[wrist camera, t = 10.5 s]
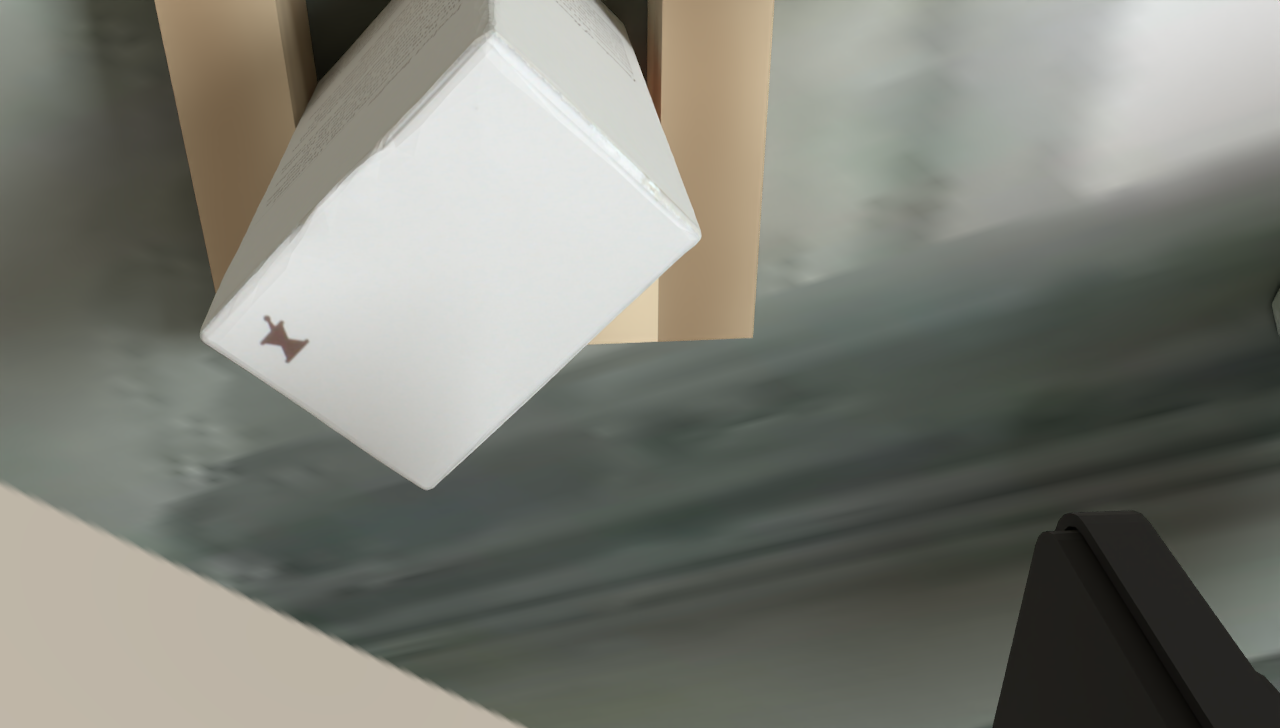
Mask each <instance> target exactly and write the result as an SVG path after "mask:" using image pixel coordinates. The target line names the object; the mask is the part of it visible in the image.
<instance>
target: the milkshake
mask: <svg viewBox="0 0 1280 728" xmlns="http://www.w3.org/2000/svg"><path fill="white" fill-rule="evenodd" d="M1272 309H1273V313H1274V318H1275V322H1276V327H1277V332H1278V334H1279V335H1280V289H1279V291H1278V293H1277V295H1276V297H1275V298H1274V300H1273V302H1272Z"/></svg>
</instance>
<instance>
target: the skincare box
mask: <svg viewBox="0 0 1280 728" xmlns="http://www.w3.org/2000/svg"><path fill="white" fill-rule="evenodd" d="M701 236H702V235H701V230H700V227H699V224H698V222H697V219H696V216H695V213H694V210H693V207H692V205H691V202H690V200H689V197H688V195H687V192H686V189H685V187H684V184H683V181H682V179H681V176H680V173H679V171H678V168H677V165H676V163H675V159H674V156H673V154H672V152H671V149H670V146H669V143H668V141H667V139H666V136H665V133H664V131H663V129H662V126H661V123H660V121H659V118H658V115H657V112H656V110H655V107H654V104H653V101H652V98H651V96H650V93H649V91H648V88H647V85H646V82H645V80H644V77H643V74H642V72H641V69H640V66H639V63H638V61H637V58H636V55H635V53H634V50H633V48H632V45H631V42H630V40H629V37H628V34H627V31H626V28H625V26H624V24H623V23H622V22H621V21H620V20H619V19H618V18H617V16H616V15H615V14H614V13H613V12H611V11H610V10H609V9H608V8H607V6H606V5H605V4H604V3H603V2H602V1H601V0H391V2H390V3H389V4H388V5H387V6H386V7H385V8H384V9H383V11H382V12H381V13H380V14H379V15H378V16H377V17H376V18H375V20H374V21H373V22H372V23H371V24H370V25H369V26H368V28H367V29H366V30H365V31H364V32H363V33H362V34H361V35H360V37H359V38H358V39H357V40H356V41H355V42H354V43H353V44H352V46H351V47H350V48H349V49H348V50H347V51H346V52H345V53H344V54H343V56H342V57H341V58H340V59H339V60H338V61H337V62H336V63H335V65H334V66H333V67H332V68H331V69H330V70H329V71H328V72H327V73H326V75H325V76H324V77H323V78H322V79H321V80H320V81H319V82H318V84H317V86H316V88H315V90H314V93H313V95H312V97H311V99H310V101H309V103H308V104H307V107H306V109H305V111H304V113H303V115H302V117H301V119H300V121H299V123H298V125H297V128H296V130H295V132H294V134H293V135H292V138H291V140H290V142H289V144H288V147H287V149H286V151H285V153H284V155H283V157H282V159H281V161H280V164H279V166H278V168H277V170H276V172H275V174H274V176H273V178H272V180H271V182H270V184H269V186H268V188H267V191H266V193H265V195H264V197H263V199H262V200H261V202H260V204H259V206H258V208H257V211H256V213H255V215H254V217H253V219H252V221H251V223H250V225H249V228H248V230H247V232H246V234H245V236H244V238H243V240H242V242H241V244H240V247H239V249H238V251H237V253H236V254H235V256H234V258H233V260H232V262H231V264H230V265H229V267H228V269H227V271H226V273H225V275H224V277H223V279H222V282H221V284H220V286H219V289H218V290H217V292H216V294H215V297H214V299H213V301H212V304H211V306H210V309H209V311H208V313H207V316H206V318H205V320H204V322H203V325H202V327H201V331H200V339H201V341H202V342H203V343H205V344H206V345H208V346H209V347H211V348H213V349H214V350H216V351H217V352H219V353H220V354H222V355H223V356H225V357H227V358H228V359H230V360H231V361H233V362H234V363H236V364H237V365H239V366H240V367H242V368H243V369H245V370H247V371H248V372H250V373H251V374H253V375H254V376H256V377H257V378H259V379H260V380H262V381H263V382H265V383H266V384H268V385H269V386H271V387H272V388H274V389H275V390H277V391H278V392H280V393H281V394H283V395H284V396H286V397H287V398H289V399H290V400H292V401H293V402H294V403H296V404H297V405H299V406H300V407H302V408H303V409H305V410H306V411H308V412H309V413H311V414H312V415H313V416H315V417H316V418H318V419H319V420H321V421H322V422H323V423H325V424H326V425H328V426H329V427H330V428H332V429H333V430H335V431H336V432H338V433H339V434H341V435H342V436H344V437H345V438H347V439H348V440H350V441H351V442H352V443H354V444H355V445H357V446H358V447H360V448H361V449H362V450H364V451H365V452H367V453H368V454H370V455H371V456H373V457H374V458H375V459H377V460H378V461H380V462H382V463H383V464H385V465H386V466H388V467H389V468H391V469H392V470H394V471H395V472H397V473H398V474H400V475H401V476H403V477H405V478H406V479H408V480H409V481H411V482H412V483H414V484H416V485H417V486H419V487H420V488H422V489H424V490H429V489H432V488H434V487H435V486H436V485H437V484H438V483H439V482H440V481H441V480H442V479H443V478H444V477H445V476H447V475H448V474H449V473H450V472H451V471H452V470H453V469H454V468H455V467H456V466H458V465H459V464H460V463H461V462H462V461H463V460H464V459H465V458H466V457H467V456H469V455H470V454H471V453H472V452H473V451H474V450H475V449H476V448H477V447H478V446H479V445H481V444H482V443H483V442H484V441H485V440H486V439H487V438H488V437H489V436H490V435H491V434H492V433H493V432H495V431H496V430H497V429H498V428H499V427H500V426H501V425H502V424H503V423H504V422H505V421H506V420H508V419H509V418H510V417H511V416H512V415H513V414H514V413H515V412H516V411H517V410H518V409H519V408H520V407H522V406H523V405H524V404H525V403H526V402H527V401H528V400H529V399H530V398H531V397H532V396H533V395H534V394H535V393H537V392H538V391H539V390H540V389H541V388H542V387H543V386H544V385H545V384H546V383H547V382H548V381H549V380H550V379H551V378H553V377H554V376H555V375H556V374H557V373H558V372H559V371H560V370H561V369H562V368H563V367H564V366H565V365H566V364H567V363H568V362H569V361H570V360H571V359H572V358H573V357H575V356H576V355H577V354H578V353H579V352H580V351H581V350H582V349H583V348H584V347H585V346H586V345H587V344H588V343H589V342H590V341H591V340H592V339H593V338H594V337H596V336H597V335H598V334H599V333H600V332H601V331H602V330H603V329H604V328H605V327H606V326H607V325H608V324H609V323H610V322H611V321H613V320H614V319H615V318H616V317H617V316H618V315H619V314H620V313H621V312H622V311H623V310H624V309H625V308H626V307H628V306H629V305H630V304H631V303H632V302H633V301H634V300H635V299H636V298H637V297H639V296H640V295H641V294H642V293H643V292H644V291H645V290H646V289H647V288H648V287H649V286H650V285H651V284H652V283H654V282H655V281H656V280H657V279H658V278H659V277H660V276H661V275H662V274H663V273H664V272H665V271H666V270H668V269H669V268H670V267H671V266H672V265H673V264H674V263H675V262H676V261H677V260H678V259H679V258H681V257H682V256H683V255H684V254H685V253H686V252H687V251H689V250H690V249H691V248H693V247H694V246H695V245H696V244H697V243H698V242H699V241H700V239H701Z"/></svg>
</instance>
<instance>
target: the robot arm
mask: <svg viewBox="0 0 1280 728" xmlns="http://www.w3.org/2000/svg"><path fill="white" fill-rule="evenodd" d="M992 728H1280V693H1279V692H1278V691H1277V689H1276V688H1275V687H1274V686H1273V685H1272V684H1271V683H1270V682H1269V681H1268V680H1267V679H1266V677H1265V676H1263V675H1261V674H1260V673H1258V672H1256V671H1255V670H1254V668H1253V667H1252V666H1251V664H1250V663H1249V661H1248V660H1247V658H1246V657H1245V656H1244V654H1243V653H1242V651H1241V650H1240V649H1239V647H1238V646H1237V644H1236V643H1235V642H1234V640H1233V639H1232V637H1231V636H1230V635H1229V633H1228V632H1227V630H1226V629H1225V628H1224V626H1223V625H1222V623H1221V622H1220V621H1219V619H1218V618H1217V616H1216V615H1215V614H1214V612H1213V611H1212V609H1211V608H1210V607H1209V605H1208V604H1207V602H1206V601H1205V600H1204V598H1203V597H1202V595H1201V594H1200V593H1199V591H1198V590H1197V588H1196V587H1195V586H1194V584H1193V583H1192V581H1191V580H1190V579H1189V577H1188V576H1187V574H1186V573H1185V572H1184V570H1183V569H1182V567H1181V566H1180V564H1179V563H1178V562H1177V560H1176V559H1175V557H1174V556H1173V555H1172V553H1171V552H1170V550H1169V549H1168V548H1167V546H1166V545H1165V543H1164V542H1163V541H1162V539H1161V538H1160V536H1159V535H1158V534H1157V532H1156V531H1155V529H1154V528H1153V527H1152V525H1151V524H1150V522H1149V521H1148V520H1147V519H1146V518H1145V517H1144V516H1143V515H1142V514H1141V513H1138V512H1136V511H1133V510H1132V511H1105V512H1077V513H1068V514H1065V515H1063V517H1062V518H1061V519H1060V520H1059V522H1058V524H1057V527H1056V530H1055V531H1046V532H1042V533H1041V535H1040V536H1039V537H1038V540H1037V542H1036V545H1035V550H1034V554H1033V558H1032V562H1031V566H1030V571H1029V575H1028V579H1027V583H1026V588H1025V592H1024V596H1023V600H1022V605H1021V609H1020V613H1019V617H1018V622H1017V626H1016V630H1015V634H1014V638H1013V643H1012V647H1011V651H1010V655H1009V660H1008V664H1007V668H1006V672H1005V677H1004V681H1003V685H1002V689H1001V694H1000V698H999V702H998V706H997V710H996V715H995V719H994V723H993V727H992Z"/></svg>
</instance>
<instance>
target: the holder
mask: <svg viewBox="0 0 1280 728" xmlns="http://www.w3.org/2000/svg"><path fill="white" fill-rule="evenodd" d="M154 1H155V6H156V11H157V16H158V20H159V25H160V30H161V35H162V39H163V44H164V49H165V54H166V58H167V63H168V68H169V73H170V78H171V82H172V87H173V92H174V97H175V101H176V106H177V111H178V116H179V121H180V125H181V130H182V135H183V140H184V144H185V149H186V154H187V159H188V163H189V168H190V173H191V178H192V183H193V187H194V192H195V197H196V202H197V206H198V211H199V216H200V221H201V226H202V230H203V235H204V240H205V245H206V249H207V254H208V259H209V264H210V268H211V273H212V278H213V283H214V288H215V292H217V290H218V289H219V286H220V284H221V282H222V279H223V277H224V275H225V273H226V271H227V269H228V267H229V265H230V264H231V262H232V260H233V258H234V256H235V254H236V253H237V251H238V249H239V247H240V244H241V242H242V240H243V238H244V236H245V234H246V232H247V230H248V228H249V225H250V223H251V221H252V219H253V217H254V215H255V213H256V211H257V208H258V206H259V204H260V202H261V200H262V199H263V197H264V195H265V193H266V191H267V188H268V186H269V184H270V182H271V180H272V178H273V176H274V174H275V172H276V170H277V168H278V166H279V164H280V161H281V159H282V157H283V155H284V153H285V151H286V149H287V147H288V144H289V142H290V140H291V138H292V135H293V134H294V132H295V130H296V128H297V125H298V123H299V121H300V119H301V117H302V115H303V113H304V111H305V109H306V107H307V104H308V103H309V101H310V99H311V97H312V95H313V93H314V90H315V88H316V86H317V84H318V83H317V76H316V69H315V62H314V55H313V48H312V41H311V34H310V27H309V20H308V13H307V6H306V0H154ZM773 14H774V0H648V24H647V88H648V91H649V93H650V96H651V98H652V101H653V104H654V107H655V110H656V112H657V115H658V118H659V121H660V123H661V126H662V129H663V131H664V133H665V136H666V139H667V141H668V143H669V146H670V149H671V152H672V154H673V156H674V159H675V163H676V165H677V168H678V171H679V173H680V176H681V179H682V181H683V184H684V187H685V189H686V192H687V195H688V197H689V200H690V202H691V205H692V207H693V210H694V213H695V216H696V219H697V222H698V224H699V227H700V230H701V235H702V236H701V239H700V241H699V242H698V243H697V244H696V245H695V246H694V247H693V248H691V249H690V250H689V251H687V252H686V253H685V254H684V255H683V256H682V257H681V258H679V259H678V260H677V261H676V262H675V263H674V264H673V265H672V266H671V267H670V268H669V269H668V270H666V271H665V272H664V273H663V274H662V275H661V276H660V277H659V278H658V279H657V280H656V281H655V282H654V283H652V284H651V285H650V286H649V287H648V288H647V289H646V290H645V291H644V292H643V293H642V294H641V295H640V296H639V297H637V298H636V299H635V300H634V301H633V302H632V303H631V304H630V305H629V306H628V307H626V308H625V309H624V310H623V311H622V312H621V313H620V314H619V315H618V316H617V317H616V318H615V319H614V320H613V321H611V322H610V323H609V324H608V325H607V326H606V327H605V328H604V329H603V330H602V331H601V332H600V333H599V334H598V335H597V336H596V337H594V338H593V339H592V340H591V341H590V342H589V343H588V344H587V345H589V344H614V343H638V342H662V341H687V340H711V339H735V338H753V328H754V312H755V297H756V281H757V265H758V250H759V234H760V218H761V202H762V187H763V171H764V155H765V140H766V124H767V108H768V92H769V77H770V61H771V45H772V30H773Z"/></svg>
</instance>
